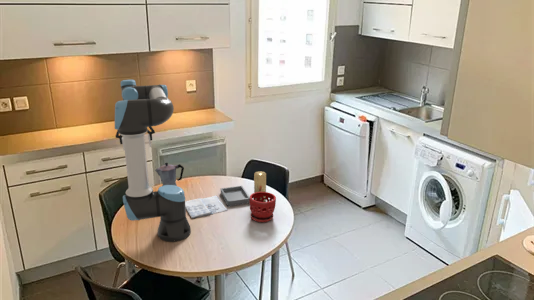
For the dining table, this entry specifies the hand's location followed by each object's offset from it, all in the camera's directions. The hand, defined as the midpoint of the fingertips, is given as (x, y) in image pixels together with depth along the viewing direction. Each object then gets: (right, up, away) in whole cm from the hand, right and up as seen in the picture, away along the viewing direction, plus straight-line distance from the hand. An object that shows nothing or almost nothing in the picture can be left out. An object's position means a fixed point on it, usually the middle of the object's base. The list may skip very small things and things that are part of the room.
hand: (137, 148), depth 228 cm
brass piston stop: (+66, -29, +3) cm, 72 cm away
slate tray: (+53, -28, +5) cm, 60 cm away
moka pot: (+17, -27, +7) cm, 32 cm away
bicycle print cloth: (+37, -32, -5) cm, 49 cm away
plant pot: (+68, -36, -15) cm, 78 cm away
